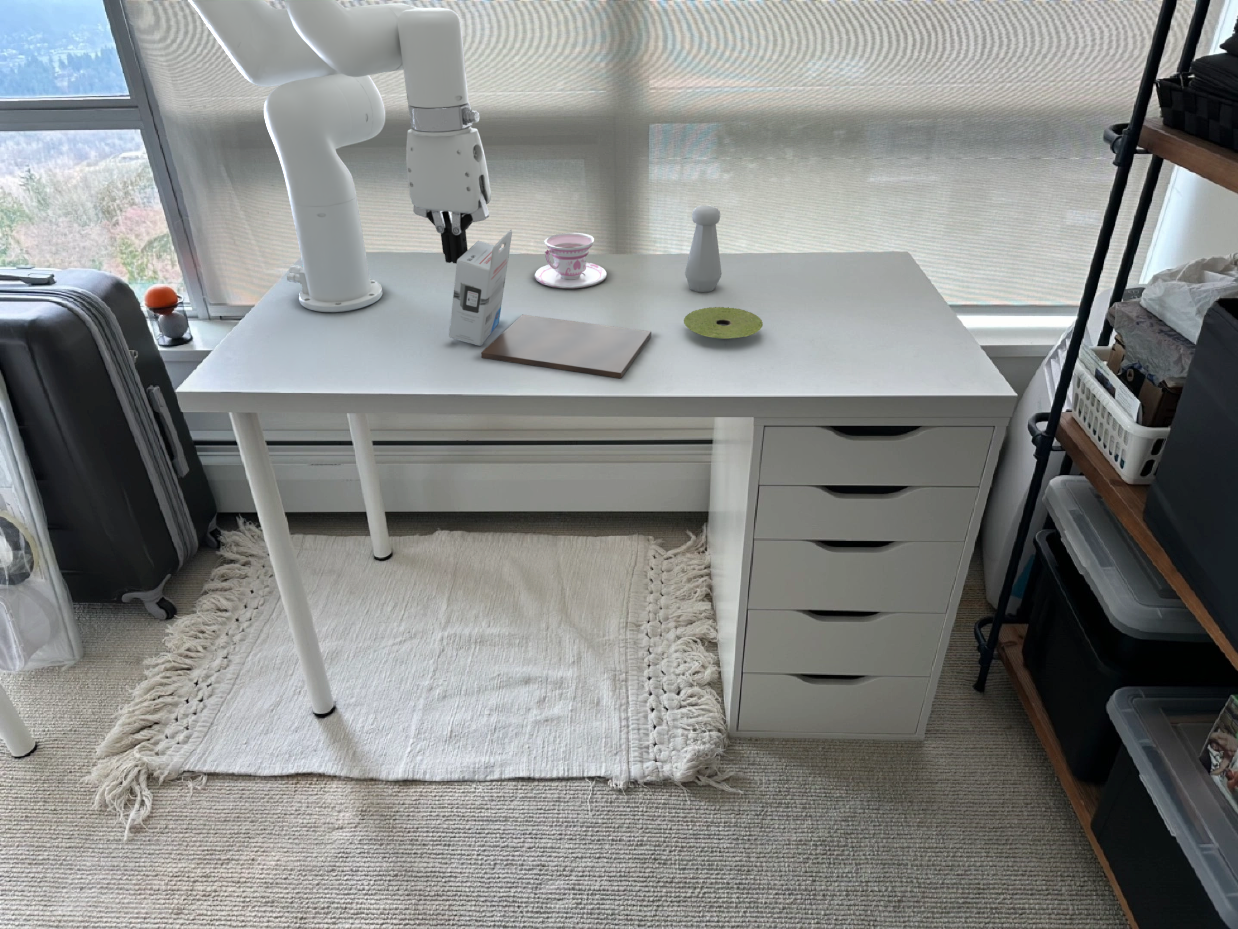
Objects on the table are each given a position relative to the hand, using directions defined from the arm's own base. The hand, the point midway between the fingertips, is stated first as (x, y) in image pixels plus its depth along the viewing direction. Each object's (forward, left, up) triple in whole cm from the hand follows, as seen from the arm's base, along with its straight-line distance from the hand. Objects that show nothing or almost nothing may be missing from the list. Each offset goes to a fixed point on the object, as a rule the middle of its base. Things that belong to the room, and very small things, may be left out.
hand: (456, 259), depth 118 cm
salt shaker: (+29, +28, -11) cm, 42 cm away
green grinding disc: (+36, +11, -11) cm, 39 cm away
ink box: (+2, 0, -11) cm, 11 cm away
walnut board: (+16, 0, -11) cm, 19 cm away
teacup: (+7, +26, -11) cm, 29 cm away
